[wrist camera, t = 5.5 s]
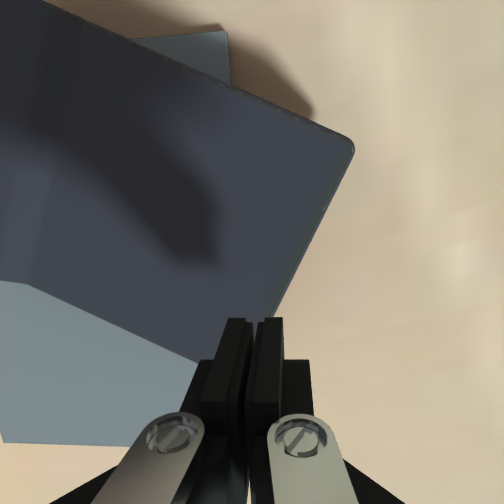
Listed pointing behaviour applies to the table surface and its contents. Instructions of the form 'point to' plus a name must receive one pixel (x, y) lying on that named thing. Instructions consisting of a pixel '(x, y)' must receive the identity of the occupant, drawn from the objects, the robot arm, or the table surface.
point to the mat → (91, 340)
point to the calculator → (150, 182)
